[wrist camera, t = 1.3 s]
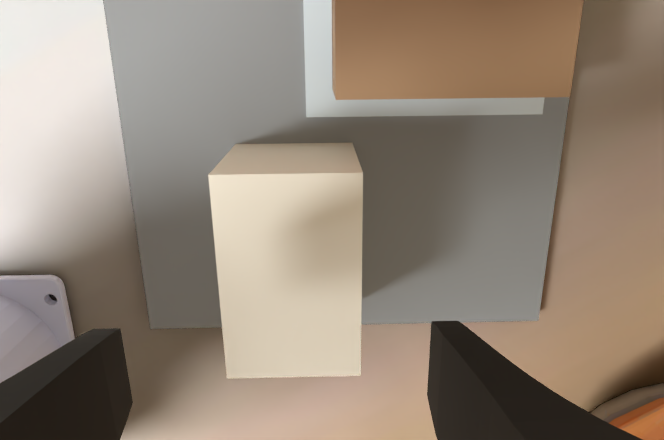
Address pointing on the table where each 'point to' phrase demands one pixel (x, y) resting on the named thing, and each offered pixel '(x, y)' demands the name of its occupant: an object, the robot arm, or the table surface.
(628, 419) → the brown layered disc
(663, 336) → the table surface
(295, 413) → the table surface
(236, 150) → the cream block
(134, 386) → the table surface
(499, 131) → the gray mat
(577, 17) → the walnut block
